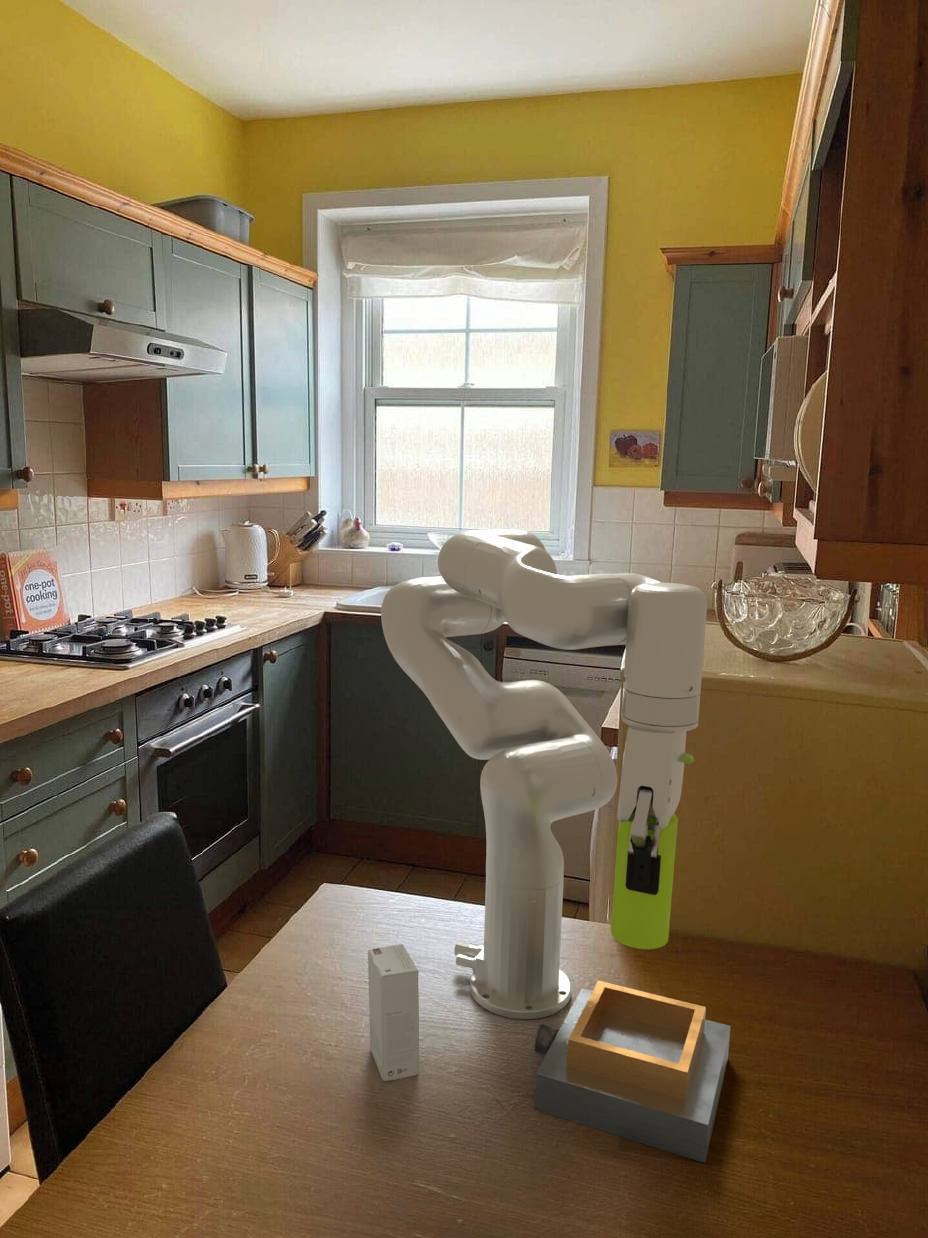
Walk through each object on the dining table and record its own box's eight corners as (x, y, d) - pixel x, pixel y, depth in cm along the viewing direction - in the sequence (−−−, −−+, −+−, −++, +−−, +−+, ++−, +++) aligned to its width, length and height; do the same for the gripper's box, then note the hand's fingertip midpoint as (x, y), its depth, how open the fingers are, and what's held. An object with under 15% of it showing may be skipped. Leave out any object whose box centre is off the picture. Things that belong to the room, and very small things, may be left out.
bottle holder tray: (511, 1102, 91) (514, 1040, 90) (560, 1014, 107) (563, 960, 106) (705, 1163, 84) (710, 1096, 83) (727, 1058, 99) (732, 1001, 98)
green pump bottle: (679, 954, 89) (695, 762, 86) (610, 945, 90) (623, 755, 87) (677, 926, 95) (692, 745, 92) (611, 918, 96) (624, 739, 93)
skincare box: (420, 1075, 95) (423, 970, 93) (380, 1084, 94) (381, 977, 92) (404, 1041, 101) (406, 941, 99) (366, 1049, 99) (367, 948, 98)
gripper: (640, 685, 98) (630, 840, 101) (602, 723, 82) (591, 906, 85) (710, 693, 95) (698, 853, 98) (684, 735, 79) (670, 923, 82)
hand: (648, 876), depth 91 cm, fingers closed on green pump bottle, 5 cm apart
